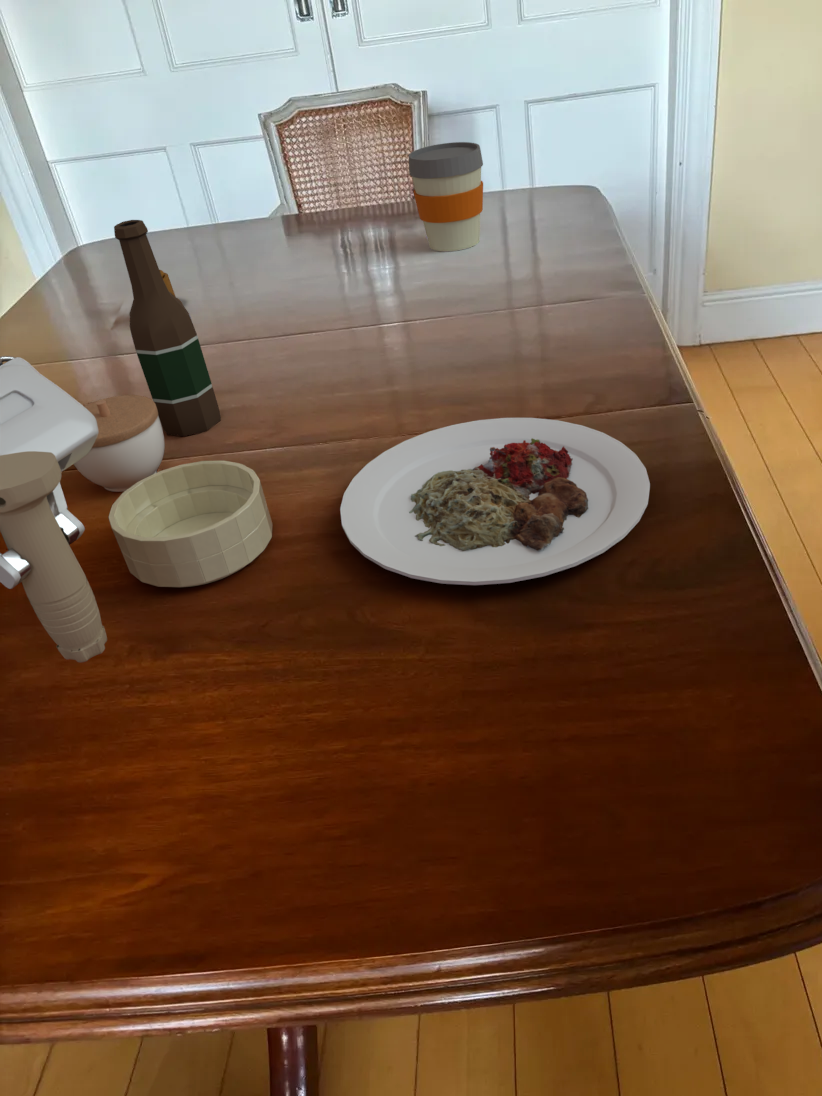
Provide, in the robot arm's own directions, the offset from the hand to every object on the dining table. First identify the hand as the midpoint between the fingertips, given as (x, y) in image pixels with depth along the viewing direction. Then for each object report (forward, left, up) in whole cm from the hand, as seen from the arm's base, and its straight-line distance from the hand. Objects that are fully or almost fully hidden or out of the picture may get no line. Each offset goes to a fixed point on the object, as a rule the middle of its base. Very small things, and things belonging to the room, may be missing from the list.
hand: (49, 558), depth 60 cm
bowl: (+4, +23, -16) cm, 28 cm away
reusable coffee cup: (+41, +110, -16) cm, 119 cm away
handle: (-1, 0, -9) cm, 9 cm away
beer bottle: (0, +53, -16) cm, 56 cm away
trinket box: (-6, +41, -16) cm, 45 cm away
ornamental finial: (-9, +95, -16) cm, 97 cm away
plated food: (+33, +22, -16) cm, 43 cm away
